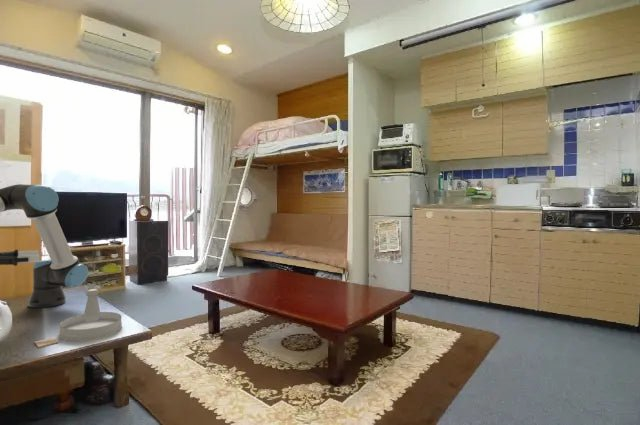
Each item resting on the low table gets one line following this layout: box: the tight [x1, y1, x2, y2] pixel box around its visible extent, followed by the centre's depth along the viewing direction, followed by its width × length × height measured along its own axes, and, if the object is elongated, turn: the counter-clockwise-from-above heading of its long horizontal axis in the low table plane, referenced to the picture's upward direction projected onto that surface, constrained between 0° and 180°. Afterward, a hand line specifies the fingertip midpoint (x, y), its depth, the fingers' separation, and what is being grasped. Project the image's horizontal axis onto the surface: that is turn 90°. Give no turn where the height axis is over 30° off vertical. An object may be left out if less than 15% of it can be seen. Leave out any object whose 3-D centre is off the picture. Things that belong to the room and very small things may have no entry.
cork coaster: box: [34, 337, 59, 349], centre depth 129 cm, size 6×6×1 cm
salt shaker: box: [83, 288, 101, 322], centre depth 143 cm, size 6×6×13 cm
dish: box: [58, 311, 123, 342], centre depth 143 cm, size 22×22×5 cm
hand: (39, 255), depth 140 cm, fingers open, 13 cm apart
